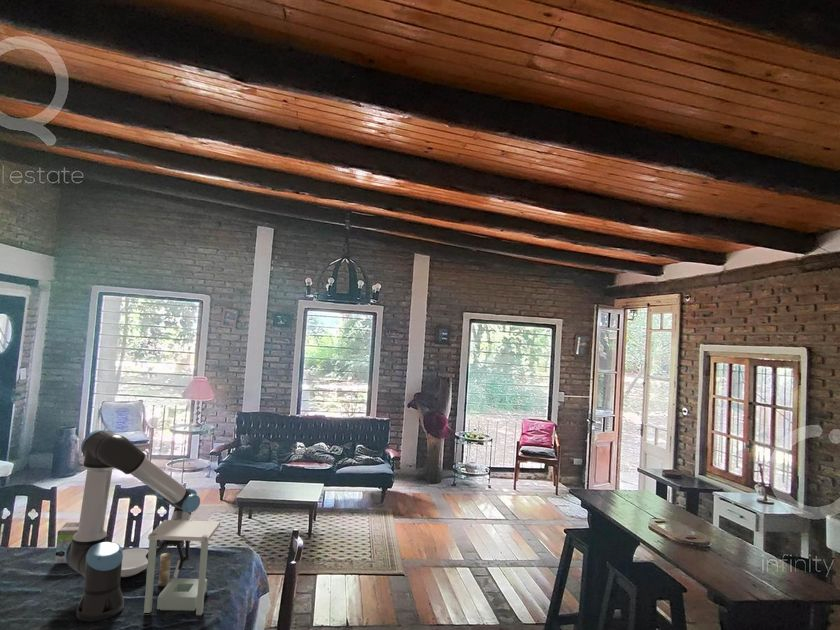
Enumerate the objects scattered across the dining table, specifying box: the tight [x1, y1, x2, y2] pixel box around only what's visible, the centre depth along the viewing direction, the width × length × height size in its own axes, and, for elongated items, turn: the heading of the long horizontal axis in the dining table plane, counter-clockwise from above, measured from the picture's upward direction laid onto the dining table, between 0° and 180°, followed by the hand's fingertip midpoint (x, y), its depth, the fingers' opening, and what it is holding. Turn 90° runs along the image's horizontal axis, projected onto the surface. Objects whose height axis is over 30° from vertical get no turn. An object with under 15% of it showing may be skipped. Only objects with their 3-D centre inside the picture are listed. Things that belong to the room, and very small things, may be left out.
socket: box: [143, 519, 221, 616], centre depth 202 cm, size 22×17×30 cm
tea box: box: [54, 521, 79, 565], centre depth 230 cm, size 15×10×15 cm
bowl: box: [121, 547, 149, 578], centre depth 220 cm, size 20×20×6 cm
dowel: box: [157, 552, 172, 587], centre depth 214 cm, size 4×4×12 cm
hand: (161, 577), depth 211 cm, fingers open, 10 cm apart
